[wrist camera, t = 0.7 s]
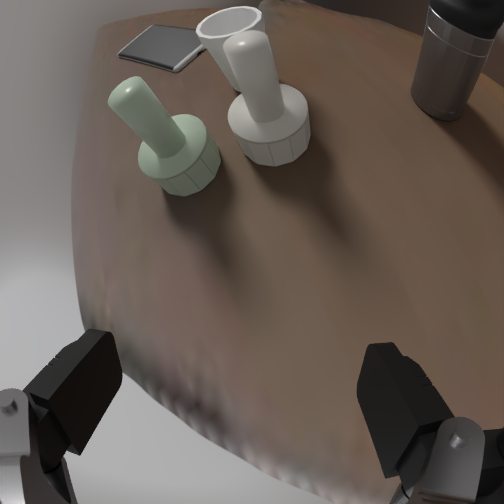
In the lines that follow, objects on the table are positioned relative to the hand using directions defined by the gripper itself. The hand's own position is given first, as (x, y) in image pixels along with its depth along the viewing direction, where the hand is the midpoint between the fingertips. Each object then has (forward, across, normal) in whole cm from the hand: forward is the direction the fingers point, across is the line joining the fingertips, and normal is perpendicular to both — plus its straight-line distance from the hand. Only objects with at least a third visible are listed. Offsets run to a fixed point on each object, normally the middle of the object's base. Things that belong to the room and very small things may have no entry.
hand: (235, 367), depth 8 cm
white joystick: (+34, -2, -11) cm, 36 cm away
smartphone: (+55, +22, -38) cm, 70 cm away
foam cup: (+41, +2, -22) cm, 47 cm away
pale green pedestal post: (+35, +10, -7) cm, 37 cm away
